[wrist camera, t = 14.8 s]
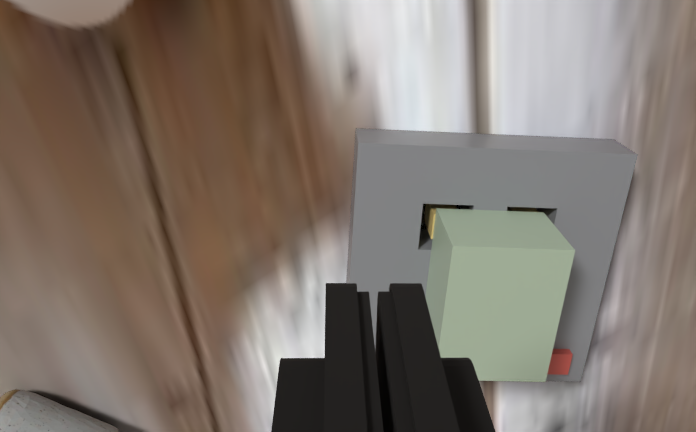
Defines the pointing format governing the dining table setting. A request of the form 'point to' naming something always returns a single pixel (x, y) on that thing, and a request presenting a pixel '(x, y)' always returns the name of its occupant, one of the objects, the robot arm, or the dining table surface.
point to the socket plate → (489, 194)
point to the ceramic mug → (44, 415)
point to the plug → (497, 288)
